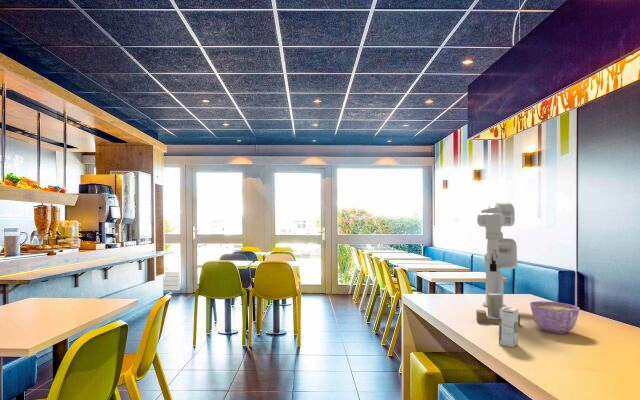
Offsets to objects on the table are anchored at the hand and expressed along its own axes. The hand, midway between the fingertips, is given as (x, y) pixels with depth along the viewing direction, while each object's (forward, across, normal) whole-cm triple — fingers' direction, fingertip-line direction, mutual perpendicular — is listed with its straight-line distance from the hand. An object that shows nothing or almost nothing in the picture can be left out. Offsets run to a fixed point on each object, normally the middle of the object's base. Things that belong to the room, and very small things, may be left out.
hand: (493, 271), depth 229 cm
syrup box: (+23, +57, -1) cm, 61 cm away
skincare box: (+23, +7, 0) cm, 24 cm away
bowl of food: (+23, +26, +23) cm, 42 cm away
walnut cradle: (+23, +18, 0) cm, 29 cm away
